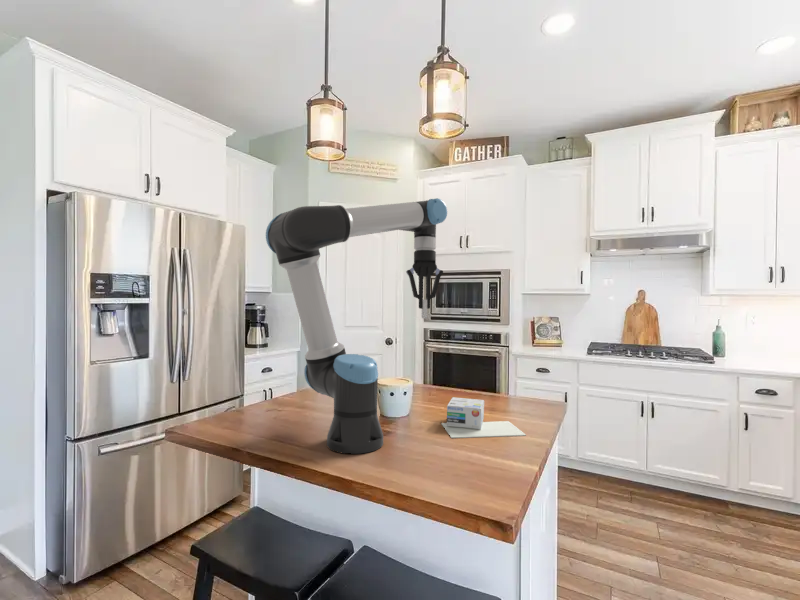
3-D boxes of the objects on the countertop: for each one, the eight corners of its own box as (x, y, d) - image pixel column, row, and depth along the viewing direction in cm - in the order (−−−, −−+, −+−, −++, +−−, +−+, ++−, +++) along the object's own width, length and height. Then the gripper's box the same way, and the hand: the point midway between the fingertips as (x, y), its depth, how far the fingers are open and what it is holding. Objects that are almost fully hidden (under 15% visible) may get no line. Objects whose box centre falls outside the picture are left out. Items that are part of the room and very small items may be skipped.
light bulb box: (451, 416, 137) (445, 427, 126) (451, 396, 136) (446, 405, 126) (484, 420, 133) (481, 430, 123) (484, 399, 133) (481, 408, 123)
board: (451, 438, 117) (451, 437, 117) (441, 424, 130) (441, 423, 130) (525, 435, 120) (525, 434, 120) (508, 422, 133) (508, 421, 133)
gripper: (440, 251, 148) (440, 317, 149) (404, 251, 147) (404, 317, 147) (445, 249, 141) (445, 318, 141) (407, 248, 139) (407, 318, 140)
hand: (424, 318), depth 144 cm, fingers closed
